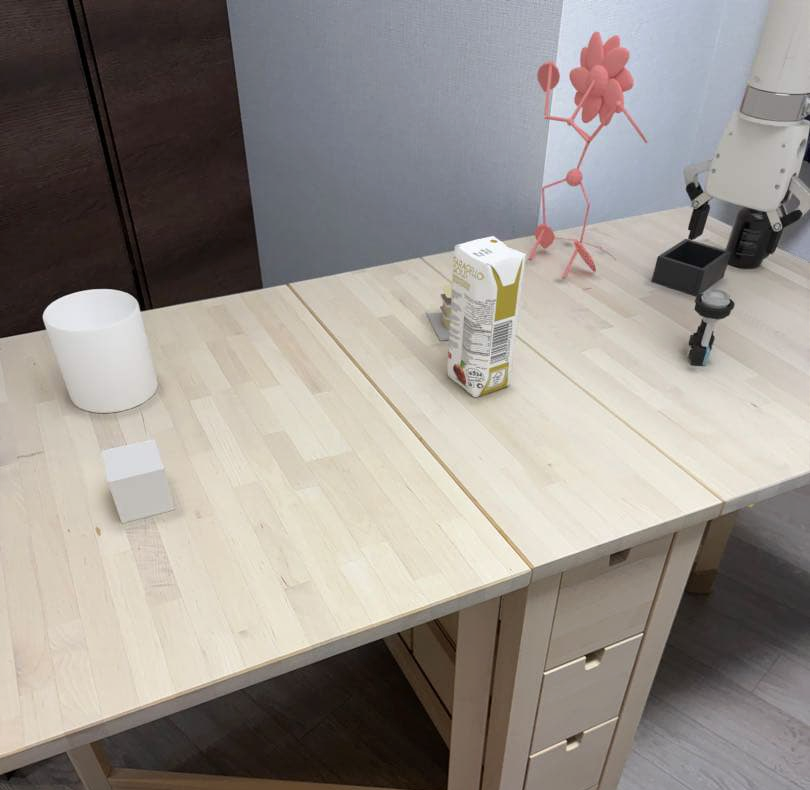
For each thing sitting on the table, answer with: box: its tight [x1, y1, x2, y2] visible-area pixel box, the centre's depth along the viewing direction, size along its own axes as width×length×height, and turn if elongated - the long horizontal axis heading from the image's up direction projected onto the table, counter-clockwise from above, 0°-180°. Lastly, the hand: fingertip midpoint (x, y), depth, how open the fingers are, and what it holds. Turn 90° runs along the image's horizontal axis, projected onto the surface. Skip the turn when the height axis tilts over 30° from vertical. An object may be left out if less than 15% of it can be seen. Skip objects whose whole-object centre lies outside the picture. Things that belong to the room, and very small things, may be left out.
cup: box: [42, 288, 159, 414], centre depth 99 cm, size 12×12×12 cm
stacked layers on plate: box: [426, 284, 452, 341], centre depth 116 cm, size 10×9×6 cm
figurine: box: [528, 31, 648, 291], centre depth 124 cm, size 15×26×35 cm, turn 33°
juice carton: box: [447, 235, 527, 398], centre depth 100 cm, size 8×9×19 cm
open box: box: [651, 238, 731, 297], centre depth 130 cm, size 9×11×4 cm
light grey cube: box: [100, 438, 176, 524], centre depth 84 cm, size 6×6×6 cm
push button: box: [686, 288, 736, 367], centre depth 109 cm, size 7×5×10 cm
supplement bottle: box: [725, 206, 771, 269], centre depth 133 cm, size 7×7×12 cm
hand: (728, 247), depth 101 cm, fingers open, 9 cm apart
